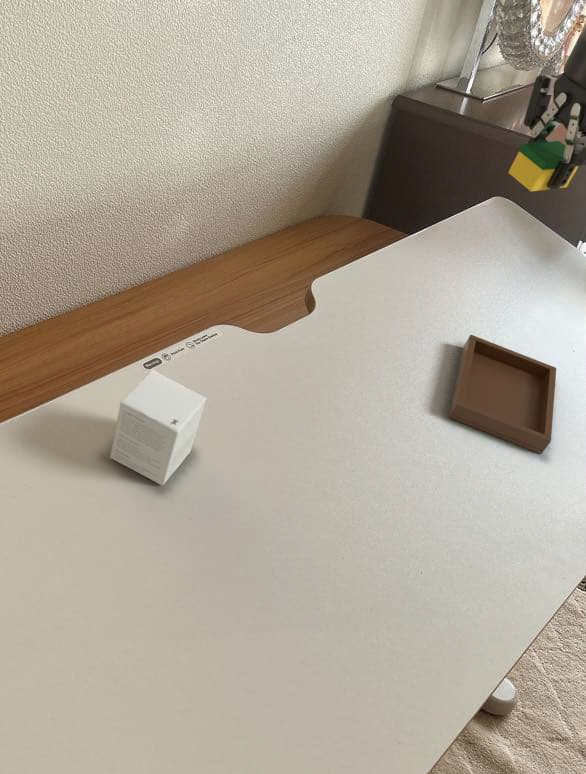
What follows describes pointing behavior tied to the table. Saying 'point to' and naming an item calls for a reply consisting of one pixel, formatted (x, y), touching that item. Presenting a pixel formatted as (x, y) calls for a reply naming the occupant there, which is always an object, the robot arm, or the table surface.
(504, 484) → the table surface
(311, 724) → the table surface
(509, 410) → the tray
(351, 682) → the table surface
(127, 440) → the product box
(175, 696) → the table surface
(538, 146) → the sponge
